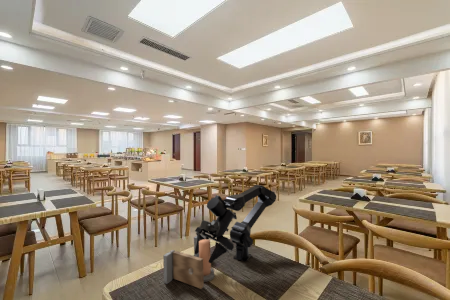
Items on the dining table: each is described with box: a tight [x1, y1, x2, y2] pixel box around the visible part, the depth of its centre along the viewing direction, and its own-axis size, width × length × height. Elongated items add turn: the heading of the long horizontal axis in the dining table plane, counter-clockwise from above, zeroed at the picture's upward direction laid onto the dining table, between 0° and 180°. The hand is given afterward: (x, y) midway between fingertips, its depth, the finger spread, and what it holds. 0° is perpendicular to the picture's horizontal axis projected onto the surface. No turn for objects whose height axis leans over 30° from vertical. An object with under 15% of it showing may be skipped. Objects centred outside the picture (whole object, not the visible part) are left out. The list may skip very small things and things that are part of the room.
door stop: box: [199, 239, 215, 283], centre depth 83 cm, size 7×7×14 cm
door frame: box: [162, 235, 199, 285], centre depth 90 cm, size 24×2×10 cm, turn 150°
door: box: [169, 249, 205, 290], centre depth 79 cm, size 15×3×10 cm, turn 60°
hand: (201, 258), depth 82 cm, fingers open, 9 cm apart
